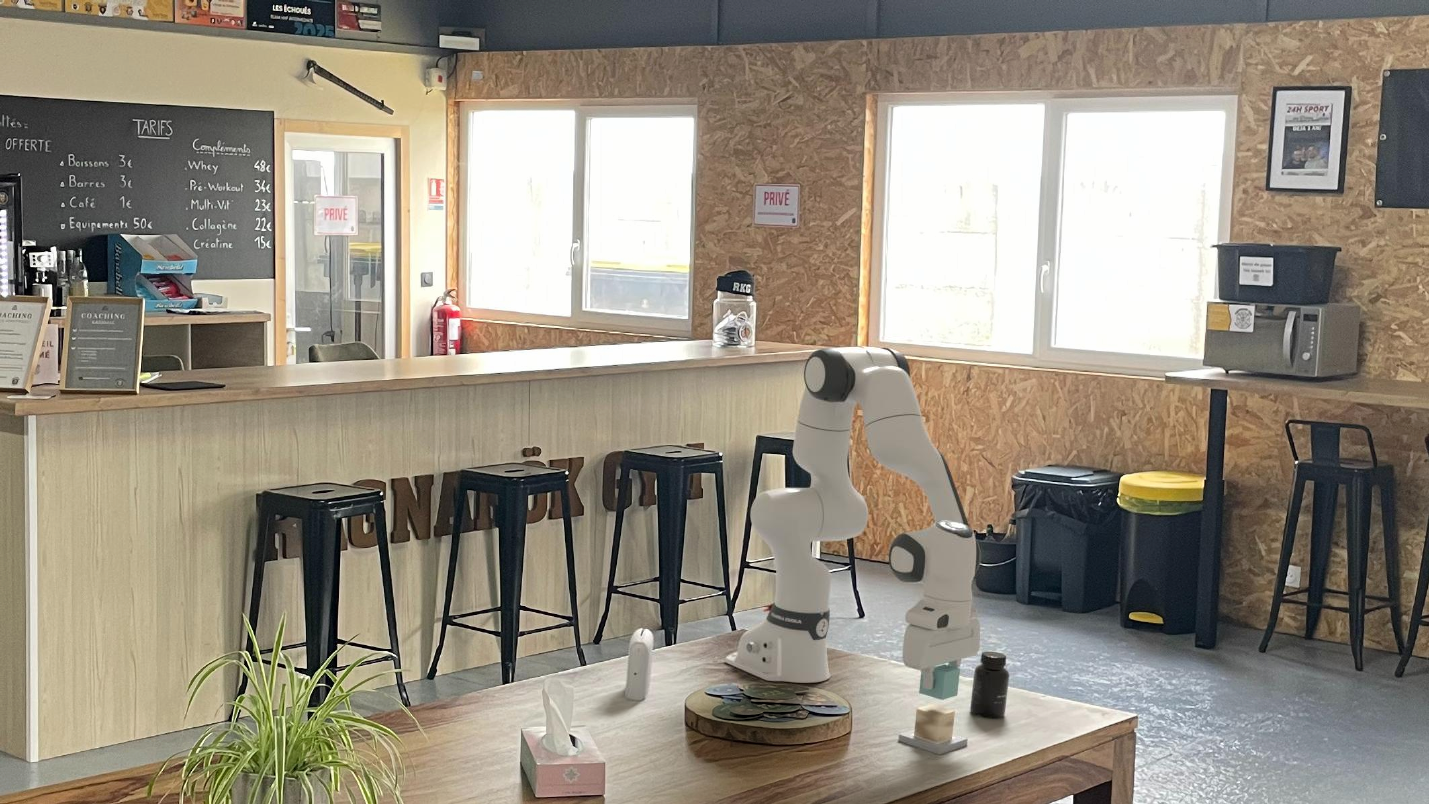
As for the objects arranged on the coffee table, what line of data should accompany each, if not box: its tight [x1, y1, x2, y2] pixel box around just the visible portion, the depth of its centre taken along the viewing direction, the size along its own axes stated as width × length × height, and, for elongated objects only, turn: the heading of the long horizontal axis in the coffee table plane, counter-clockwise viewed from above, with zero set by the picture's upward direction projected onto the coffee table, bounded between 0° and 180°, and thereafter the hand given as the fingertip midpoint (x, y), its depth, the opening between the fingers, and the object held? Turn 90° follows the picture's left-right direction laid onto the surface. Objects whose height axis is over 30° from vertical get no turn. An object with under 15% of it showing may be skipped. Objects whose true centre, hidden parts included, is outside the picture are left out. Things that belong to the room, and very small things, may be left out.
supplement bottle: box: [969, 650, 1010, 719], centre depth 310 cm, size 7×7×12 cm
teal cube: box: [918, 663, 961, 701], centre depth 288 cm, size 5×5×5 cm
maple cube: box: [914, 703, 956, 742], centre depth 290 cm, size 5×5×5 cm
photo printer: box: [624, 628, 655, 701], centre depth 305 cm, size 10×4×12 cm, turn 177°
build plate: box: [898, 728, 968, 755], centre depth 290 cm, size 9×9×1 cm
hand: (938, 685), depth 289 cm, fingers closed on teal cube, 5 cm apart
